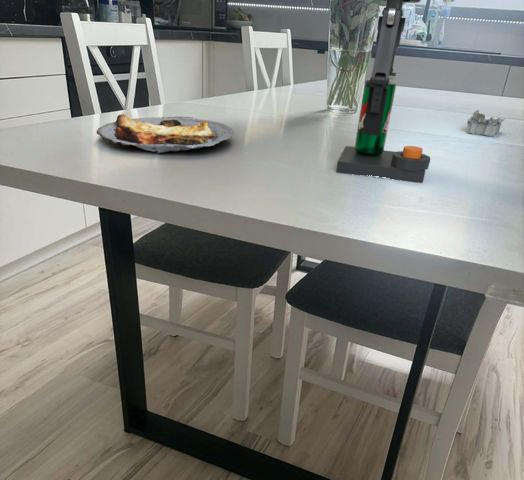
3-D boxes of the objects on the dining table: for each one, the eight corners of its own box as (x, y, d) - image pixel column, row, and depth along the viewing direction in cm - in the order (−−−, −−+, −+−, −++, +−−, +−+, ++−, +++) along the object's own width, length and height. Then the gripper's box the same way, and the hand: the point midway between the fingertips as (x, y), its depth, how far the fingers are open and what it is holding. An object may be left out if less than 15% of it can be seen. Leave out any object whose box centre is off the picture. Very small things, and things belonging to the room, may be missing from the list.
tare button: (420, 157, 79) (422, 147, 78) (420, 161, 76) (423, 151, 76) (401, 154, 79) (403, 144, 78) (401, 159, 77) (403, 148, 76)
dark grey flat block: (423, 166, 87) (428, 145, 85) (425, 184, 77) (430, 162, 75) (344, 156, 89) (347, 136, 87) (335, 173, 79) (338, 151, 77)
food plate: (83, 153, 81) (80, 131, 79) (114, 126, 100) (112, 107, 98) (232, 161, 82) (233, 139, 80) (234, 132, 101) (235, 114, 99)
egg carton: (472, 127, 124) (476, 109, 121) (502, 131, 120) (508, 113, 118) (461, 132, 116) (466, 113, 114) (493, 137, 113) (499, 118, 111)
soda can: (385, 157, 82) (401, 77, 75) (356, 156, 82) (369, 75, 75) (379, 150, 86) (393, 74, 79) (351, 149, 86) (363, 72, 79)
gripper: (430, -40, 59) (393, 144, 71) (425, -24, 79) (397, 117, 91) (368, -43, 60) (343, 138, 72) (379, -27, 80) (358, 113, 92)
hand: (373, 127), depth 82 cm, fingers open, 13 cm apart
